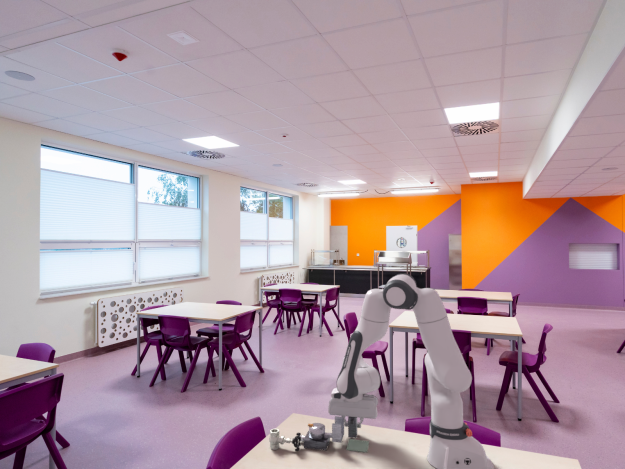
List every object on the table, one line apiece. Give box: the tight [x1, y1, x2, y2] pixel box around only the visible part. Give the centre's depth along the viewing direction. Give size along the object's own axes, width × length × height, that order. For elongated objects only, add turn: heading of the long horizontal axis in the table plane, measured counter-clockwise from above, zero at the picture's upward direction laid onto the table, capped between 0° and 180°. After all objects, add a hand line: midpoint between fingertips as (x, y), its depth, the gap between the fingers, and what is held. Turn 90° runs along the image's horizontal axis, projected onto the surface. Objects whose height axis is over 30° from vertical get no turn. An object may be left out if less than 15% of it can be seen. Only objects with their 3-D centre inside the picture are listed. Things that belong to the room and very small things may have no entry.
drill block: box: [300, 430, 331, 451], centre depth 156 cm, size 12×8×3 cm
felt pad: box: [346, 438, 370, 453], centre depth 154 cm, size 8×8×1 cm
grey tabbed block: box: [347, 416, 358, 439], centre depth 163 cm, size 3×6×8 cm, turn 167°
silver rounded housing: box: [307, 415, 345, 444], centre depth 155 cm, size 14×8×7 cm, turn 77°
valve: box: [269, 428, 301, 452], centre depth 152 cm, size 7×7×12 cm
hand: (352, 426), depth 163 cm, fingers open, 4 cm apart
